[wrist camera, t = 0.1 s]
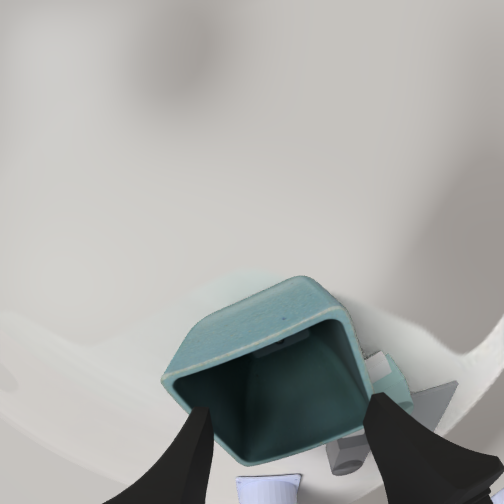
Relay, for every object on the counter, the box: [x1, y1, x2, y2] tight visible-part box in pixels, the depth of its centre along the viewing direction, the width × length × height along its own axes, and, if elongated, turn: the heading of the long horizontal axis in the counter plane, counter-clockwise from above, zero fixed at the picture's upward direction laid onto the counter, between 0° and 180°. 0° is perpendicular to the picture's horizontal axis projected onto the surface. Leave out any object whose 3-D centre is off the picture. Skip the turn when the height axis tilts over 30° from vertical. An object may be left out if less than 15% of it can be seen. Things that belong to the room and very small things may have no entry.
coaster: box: [410, 381, 458, 432], centre depth 24 cm, size 9×9×1 cm
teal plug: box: [365, 351, 414, 415], centre depth 21 cm, size 8×3×4 cm, turn 31°
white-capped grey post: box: [326, 429, 370, 476], centre depth 23 cm, size 8×3×4 cm, turn 1°
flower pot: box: [161, 276, 375, 467], centre depth 16 cm, size 9×9×9 cm
